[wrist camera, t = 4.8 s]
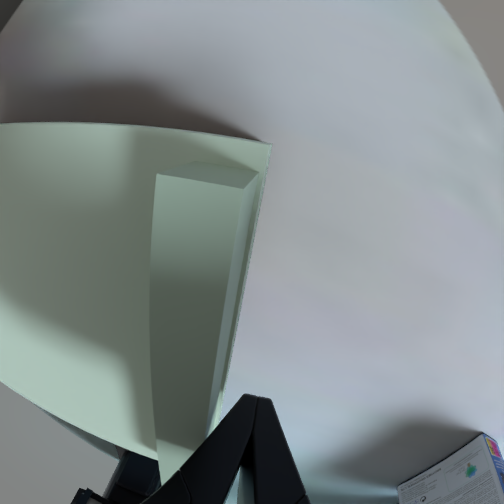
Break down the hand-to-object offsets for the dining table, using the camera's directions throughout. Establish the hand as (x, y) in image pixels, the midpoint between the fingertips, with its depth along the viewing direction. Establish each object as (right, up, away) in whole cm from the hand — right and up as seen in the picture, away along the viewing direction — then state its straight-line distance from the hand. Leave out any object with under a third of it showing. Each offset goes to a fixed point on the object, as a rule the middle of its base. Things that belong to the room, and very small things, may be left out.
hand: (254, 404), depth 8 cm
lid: (-9, +3, +2) cm, 9 cm away
